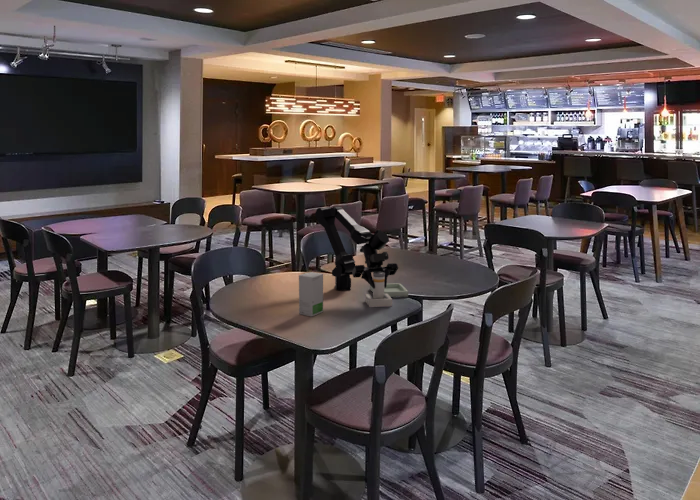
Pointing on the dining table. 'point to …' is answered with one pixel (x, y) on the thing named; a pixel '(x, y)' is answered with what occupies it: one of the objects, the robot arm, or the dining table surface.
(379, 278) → the white cylinder
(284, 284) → the dining table surface
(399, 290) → the tray
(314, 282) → the skincare box
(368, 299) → the tray
